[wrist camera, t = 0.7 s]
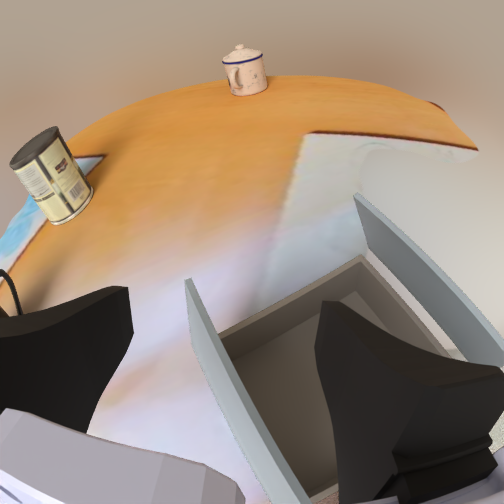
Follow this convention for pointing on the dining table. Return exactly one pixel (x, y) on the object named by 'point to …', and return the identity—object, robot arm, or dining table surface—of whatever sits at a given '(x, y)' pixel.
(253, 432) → the near flap
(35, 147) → the coffee can
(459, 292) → the far flap
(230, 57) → the teacup with lid
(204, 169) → the dining table surface
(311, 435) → the carton
